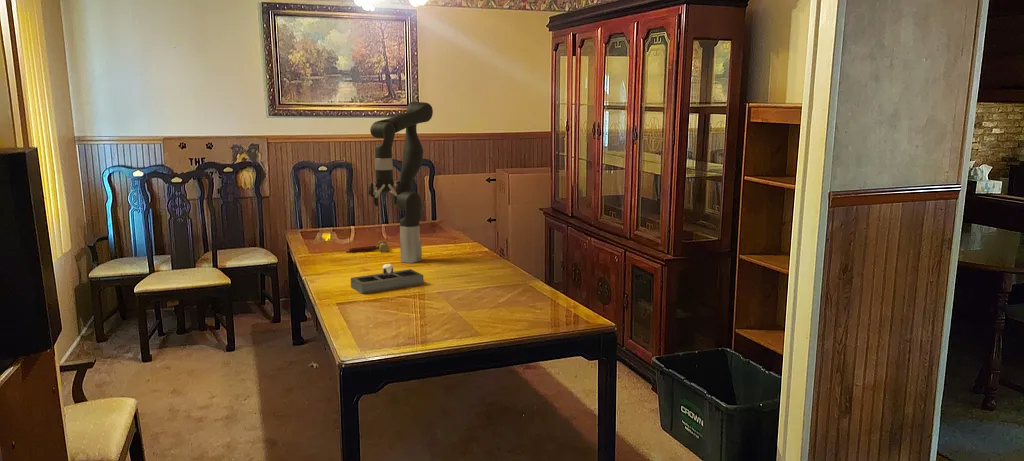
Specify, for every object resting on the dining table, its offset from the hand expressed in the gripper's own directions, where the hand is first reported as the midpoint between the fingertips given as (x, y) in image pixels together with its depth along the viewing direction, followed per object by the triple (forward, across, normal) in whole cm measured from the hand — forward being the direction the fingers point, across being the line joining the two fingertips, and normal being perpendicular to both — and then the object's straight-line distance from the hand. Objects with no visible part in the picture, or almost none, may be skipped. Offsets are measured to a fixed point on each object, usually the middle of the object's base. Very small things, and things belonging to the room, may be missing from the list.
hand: (385, 205), depth 307 cm
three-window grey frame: (+30, +10, +22) cm, 38 cm away
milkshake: (+30, +10, +22) cm, 39 cm away
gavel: (+31, -8, -45) cm, 55 cm away
